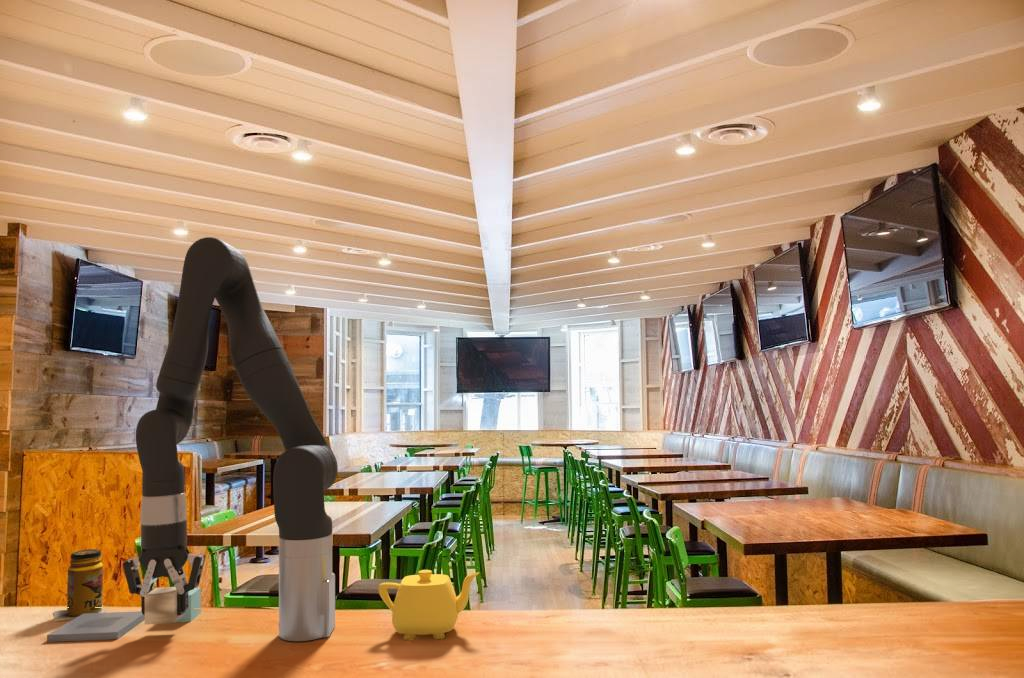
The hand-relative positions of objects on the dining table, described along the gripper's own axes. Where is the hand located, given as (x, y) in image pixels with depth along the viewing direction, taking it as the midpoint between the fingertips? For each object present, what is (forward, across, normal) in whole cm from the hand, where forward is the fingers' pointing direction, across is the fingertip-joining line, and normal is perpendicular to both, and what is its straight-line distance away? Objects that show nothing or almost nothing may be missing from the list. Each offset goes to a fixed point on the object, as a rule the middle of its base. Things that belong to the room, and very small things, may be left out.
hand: (165, 614), depth 129 cm
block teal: (+3, 0, -10) cm, 10 cm away
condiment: (+3, +22, -15) cm, 27 cm away
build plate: (+3, +14, -5) cm, 15 cm away
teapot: (+5, -47, +5) cm, 48 cm away
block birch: (+1, 0, 0) cm, 1 cm away
